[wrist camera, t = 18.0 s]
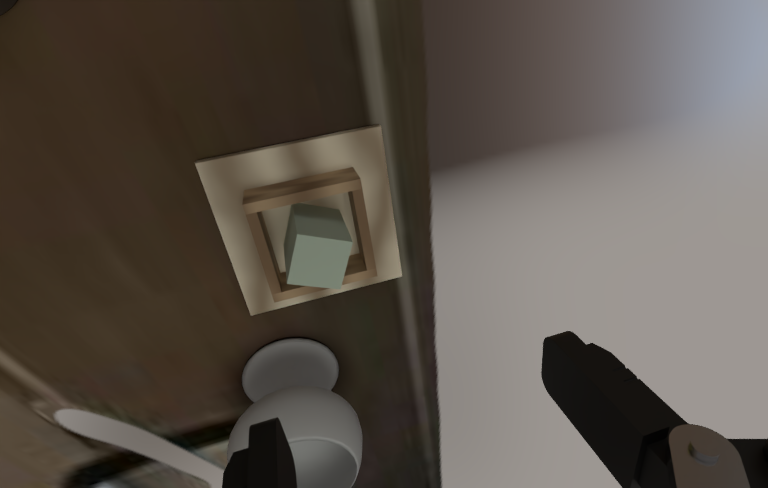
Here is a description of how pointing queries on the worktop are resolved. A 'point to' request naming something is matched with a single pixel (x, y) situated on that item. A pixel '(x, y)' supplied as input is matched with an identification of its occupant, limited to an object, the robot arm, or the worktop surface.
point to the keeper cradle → (308, 186)
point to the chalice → (303, 411)
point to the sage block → (316, 246)
